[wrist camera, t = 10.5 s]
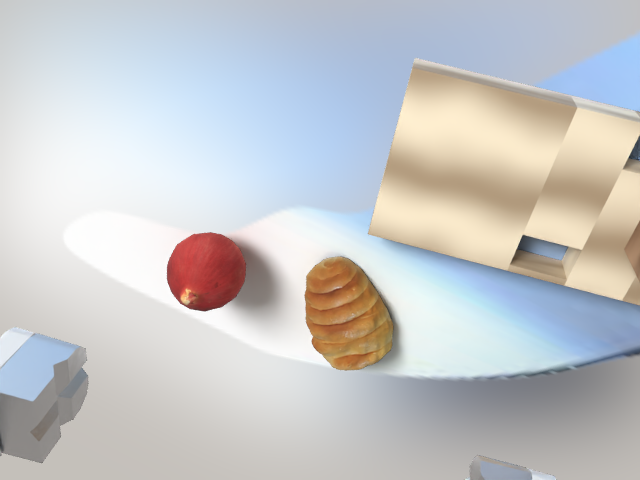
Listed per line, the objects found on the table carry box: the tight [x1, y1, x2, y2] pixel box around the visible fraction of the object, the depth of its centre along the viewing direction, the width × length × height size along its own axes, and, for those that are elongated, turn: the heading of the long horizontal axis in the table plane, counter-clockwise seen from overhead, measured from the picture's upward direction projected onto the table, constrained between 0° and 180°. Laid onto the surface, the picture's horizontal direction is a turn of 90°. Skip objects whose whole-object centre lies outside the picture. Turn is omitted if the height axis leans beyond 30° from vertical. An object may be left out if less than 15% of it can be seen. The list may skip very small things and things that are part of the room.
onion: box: [167, 232, 246, 311], centre depth 45 cm, size 6×6×8 cm
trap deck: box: [368, 58, 640, 305], centre depth 38 cm, size 12×22×6 cm, turn 79°
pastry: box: [305, 256, 393, 370], centre depth 48 cm, size 9×7×4 cm
